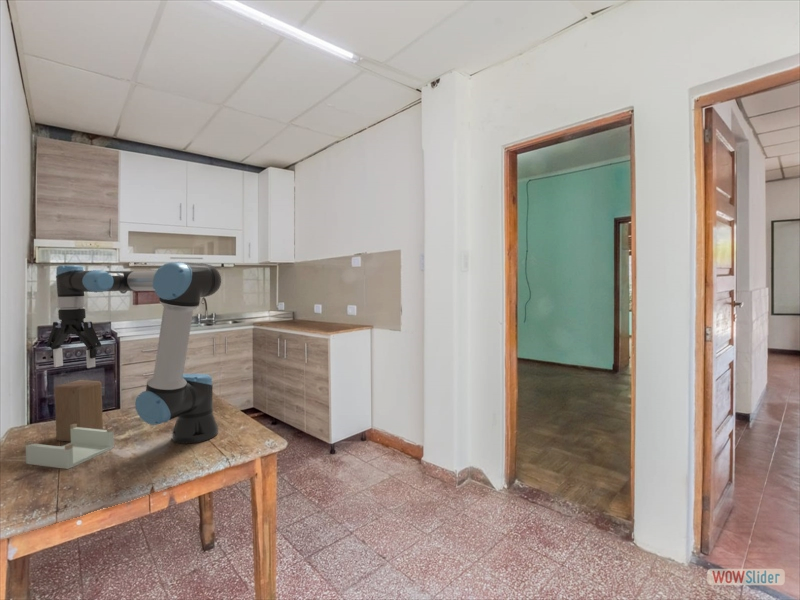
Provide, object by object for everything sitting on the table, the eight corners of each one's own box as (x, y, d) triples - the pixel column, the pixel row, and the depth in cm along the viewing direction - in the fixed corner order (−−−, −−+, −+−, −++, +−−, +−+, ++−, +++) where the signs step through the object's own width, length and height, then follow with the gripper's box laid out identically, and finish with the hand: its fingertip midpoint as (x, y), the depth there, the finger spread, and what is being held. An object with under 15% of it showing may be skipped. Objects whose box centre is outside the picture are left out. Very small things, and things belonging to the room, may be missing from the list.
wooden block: (77, 443, 140) (76, 387, 138) (55, 441, 142) (52, 385, 140) (104, 432, 149) (102, 380, 148) (82, 430, 151) (80, 378, 150)
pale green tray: (113, 447, 137) (113, 427, 136) (68, 469, 121) (67, 446, 121) (75, 443, 140) (74, 423, 139) (26, 463, 124) (25, 441, 124)
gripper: (111, 307, 144) (114, 365, 145) (52, 307, 148) (55, 363, 149) (92, 309, 137) (95, 370, 138) (31, 309, 141) (34, 368, 142)
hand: (74, 366), depth 144 cm, fingers open, 13 cm apart
